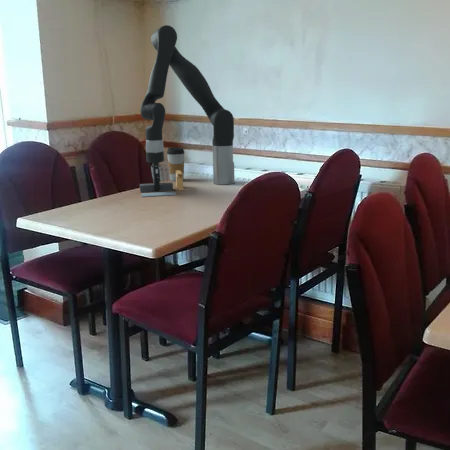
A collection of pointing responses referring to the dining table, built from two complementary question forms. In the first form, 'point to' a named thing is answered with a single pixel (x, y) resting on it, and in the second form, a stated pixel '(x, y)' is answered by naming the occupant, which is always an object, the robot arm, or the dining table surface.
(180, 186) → the yellow bent bar
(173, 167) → the coffee cup
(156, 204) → the dining table surface
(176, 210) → the dining table surface
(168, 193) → the light blue panel
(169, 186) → the dark gray rectangular block
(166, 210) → the dining table surface
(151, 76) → the robot arm
